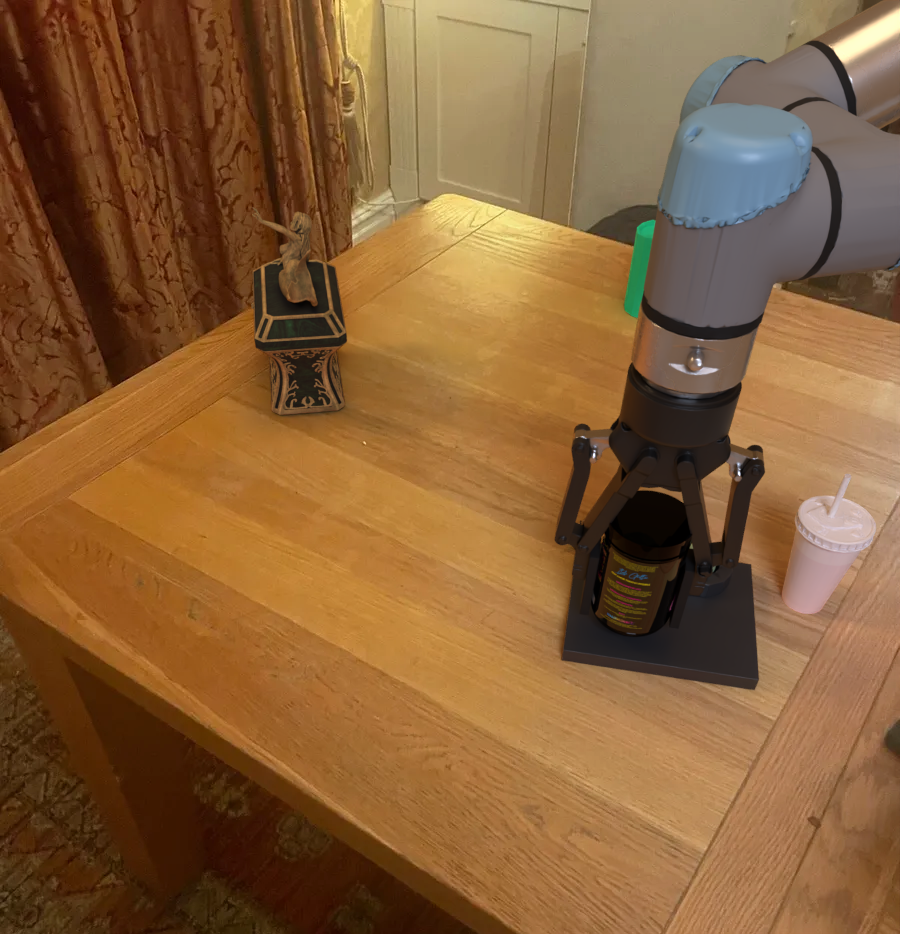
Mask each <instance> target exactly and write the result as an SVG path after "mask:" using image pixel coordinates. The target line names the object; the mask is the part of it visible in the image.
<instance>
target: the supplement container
mask: <svg viewBox="0 0 900 934" xmlns="http://www.w3.org/2000/svg"><path fill="white" fill-rule="evenodd" d="M692 535H693V534H690V530H689V525H688V519H687V514H686V509H685V506H684V503H683V501H681V500H680V499H679V498H677V497H674V496H673V495H670V494H667V493H664V492H661V491H656V490H650V489H648V490H647V489H645V490H644V489H639V490H638V491H637V492H636V494H635V495H634V496H633V498H632V499H629V500H628V501H627V502H626V504H625V505H624V506H623V508H622V509H621V511H620V512H619V513H618V515H617V516H616V518H615V519H614V520H613V522H612V523H609V527H608V529H607V530H606V531H605V533H604V534H603V536H602V539H601V543H602V545H601V551H600V557H599V563H598V568H597V574H596V579H595V584H594V589H593V594H592V600H591V607H592V611H593V613H594V615H595V617H596V619H597V620H598V621H599V622H600V623H601V624H602V625H603V626H604V627H605V628H607V629H608V630H610V631H612V632H614V633H616V634H619V635H622V636H627V637H643V636H648V635H651V634H653V633H655V632H657V631H659V630H660V629H661V628H662V627H663V626H664V625H665V624H666V623H667V621H668V619H669V617H670V613H671V610H672V606H673V603H674V599H675V596H676V592H677V589H678V585H679V582H680V578H681V575H682V571H683V568H684V564H685V561H686V557H687V554H688V550H689V548H690V546H691V543H692V540H691V538H692Z"/></svg>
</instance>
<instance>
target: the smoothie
mask: <svg viewBox="0 0 900 934" xmlns="http://www.w3.org/2000/svg"><path fill="white" fill-rule="evenodd" d="M852 477H853V476H852V474H850V473H844V475H843V477H842V480H841V482H840V484H839V487H838V489H837V490H836V491H837V492H836V494H835V495H831V494H828V495H827V494H823V495H814V496H811V497H809V498H806V499H805V500H803V501H802V502H801V503H800V505H799V507H798V509H797V511H796V513H795V516H794V525H795V527H796V528H795V532H794V535H793V536H794V537H793V541H792V545H791V551H790V553H789V554H790V555H789V560H788V564H787V567H786V572H785V577H784V582H783V586H782V591H781V599H782V601H783V603H784V604H785V605H786V606H787V607H788V608H789V609H791V610H792V611H795V612H796V613H800V614H803V615H811V614H816V613H819V612H821V610H823V608H824V607H825V605H826V603H827V602H828V601H829V599H830V598H831V596H832V595H833V593H834V592H835V590H836V589H837V588H838V586H839V584H840V583H841V582H842V580H843V578H844V577H845V576H846V574H847V573H848V571H849V570H850V568H851V567H852V565H853V564H854V562H855V561H856V560H857V559H858V557H859V555H860V554H861V552H862V551H864V550H865V549H867V548H869V547H870V546H871V544H872V543H873V541H874V537H875V535H876V532H877V523H876V520H875V518H874V517H873V515H872V514H871V513H870V512H869V511H868V510H867V509H866V508H865V507H864V506H862V505H860V504H859V503H858V502H855V501H853V500H850V499H848V498H845V497H844V496H845V494H846V491H847V489H848V487H849V484H850V481H851V480H852Z"/></svg>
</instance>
